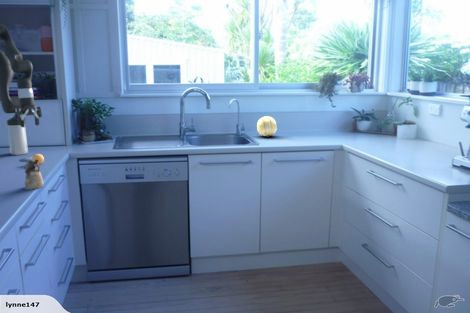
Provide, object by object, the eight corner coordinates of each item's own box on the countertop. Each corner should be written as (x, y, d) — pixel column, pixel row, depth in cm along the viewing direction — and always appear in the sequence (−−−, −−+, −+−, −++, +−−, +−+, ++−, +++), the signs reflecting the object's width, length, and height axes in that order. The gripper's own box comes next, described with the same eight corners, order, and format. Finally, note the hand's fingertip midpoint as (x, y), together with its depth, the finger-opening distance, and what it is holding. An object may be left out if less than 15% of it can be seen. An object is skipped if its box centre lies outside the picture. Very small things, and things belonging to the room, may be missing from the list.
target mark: (15, 159, 233) (15, 159, 233) (36, 156, 243) (36, 155, 243) (27, 162, 227) (27, 162, 226) (48, 158, 236) (48, 158, 236)
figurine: (29, 184, 183) (26, 157, 180) (46, 184, 183) (43, 157, 181) (22, 189, 176) (19, 161, 173) (39, 189, 176) (36, 161, 174)
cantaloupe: (271, 138, 299) (271, 117, 296) (253, 137, 307) (253, 116, 304) (280, 135, 312) (280, 115, 309) (262, 134, 319) (262, 114, 316)
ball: (30, 164, 222) (29, 154, 220) (40, 162, 226) (39, 152, 225) (36, 165, 219) (35, 155, 217) (46, 163, 223) (45, 153, 222)
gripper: (34, 96, 242) (37, 124, 245) (9, 97, 230) (14, 127, 233) (41, 96, 238) (45, 124, 241) (17, 97, 226) (22, 127, 229)
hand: (30, 126), depth 237 cm, fingers open, 8 cm apart
